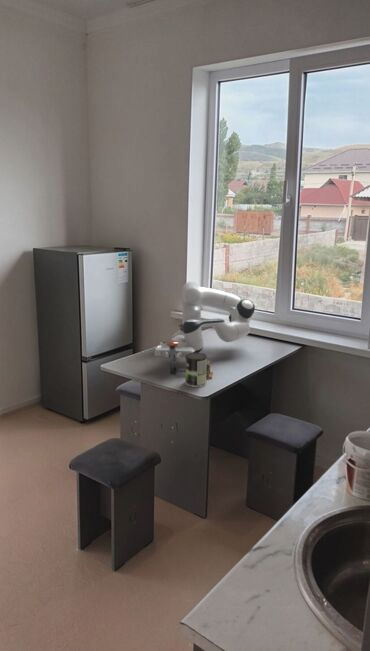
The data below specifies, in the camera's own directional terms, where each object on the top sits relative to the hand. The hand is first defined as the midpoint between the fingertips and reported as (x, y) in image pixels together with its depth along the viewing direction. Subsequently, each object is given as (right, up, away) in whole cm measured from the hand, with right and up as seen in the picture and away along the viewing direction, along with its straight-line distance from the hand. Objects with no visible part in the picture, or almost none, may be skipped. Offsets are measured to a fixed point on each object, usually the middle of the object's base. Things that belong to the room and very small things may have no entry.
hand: (172, 356), depth 251 cm
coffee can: (+12, -13, -9) cm, 19 cm away
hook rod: (+8, -9, +3) cm, 12 cm away
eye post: (+17, -10, +1) cm, 20 cm away
